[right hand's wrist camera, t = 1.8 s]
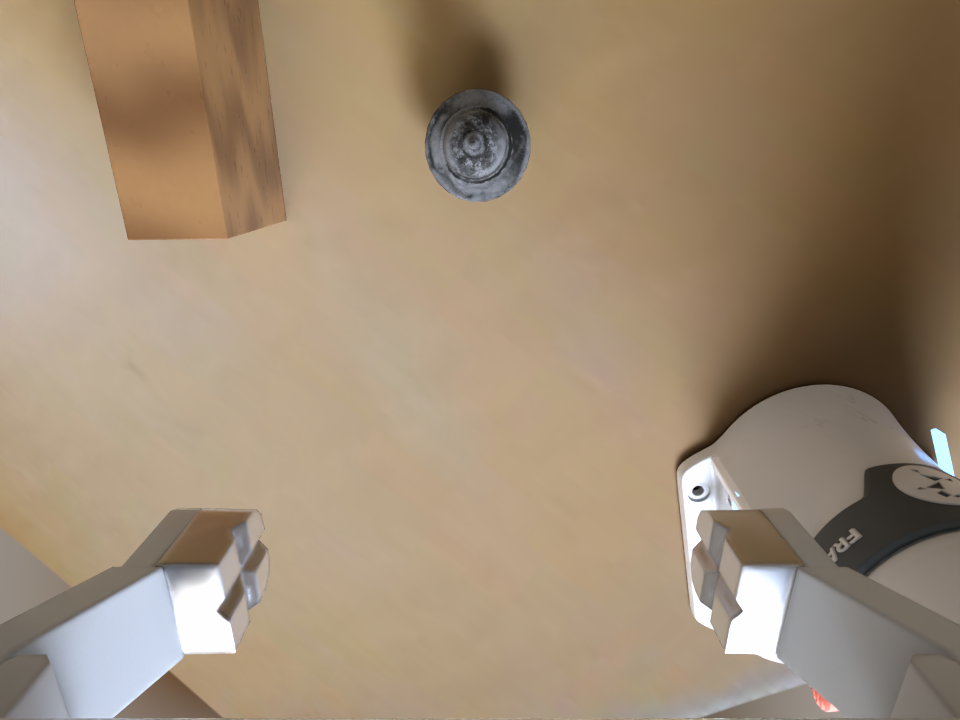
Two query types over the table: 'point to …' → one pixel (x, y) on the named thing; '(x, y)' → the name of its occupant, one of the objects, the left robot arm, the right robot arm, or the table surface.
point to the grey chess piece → (477, 145)
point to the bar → (185, 115)
